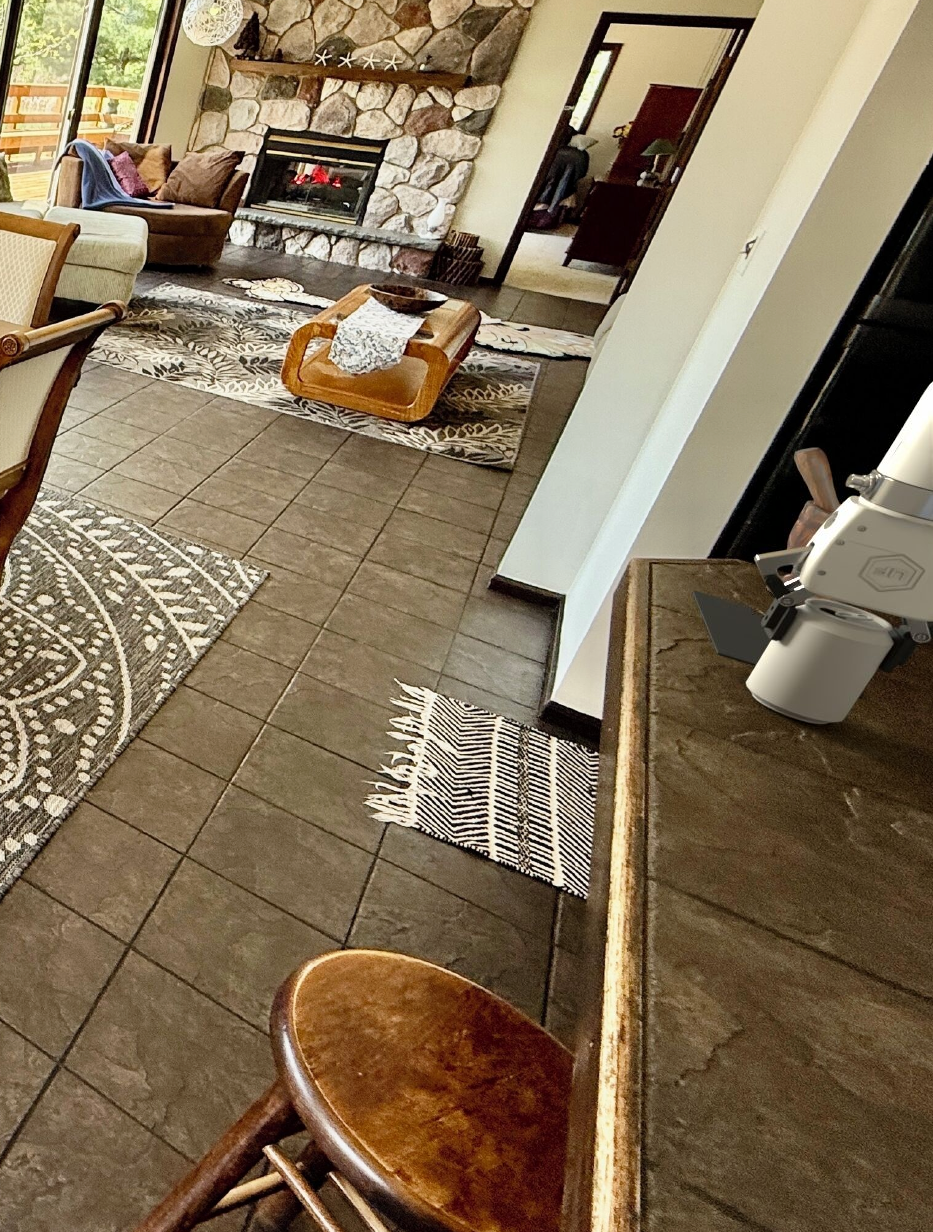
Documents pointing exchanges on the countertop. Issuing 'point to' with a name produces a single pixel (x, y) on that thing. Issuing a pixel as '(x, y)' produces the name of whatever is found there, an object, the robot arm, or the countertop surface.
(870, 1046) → the countertop surface
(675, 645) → the countertop surface
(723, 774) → the countertop surface
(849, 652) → the can
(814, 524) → the mortar and pestle
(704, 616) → the mat
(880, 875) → the countertop surface
